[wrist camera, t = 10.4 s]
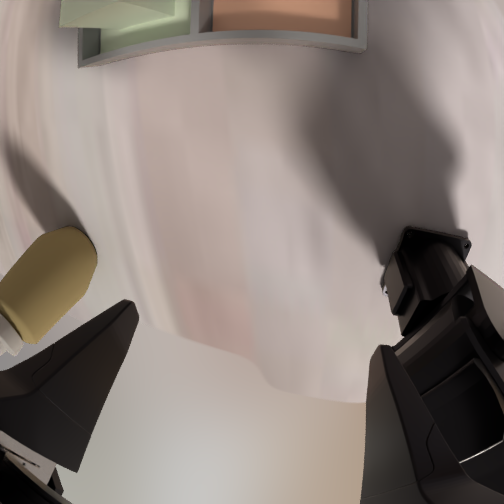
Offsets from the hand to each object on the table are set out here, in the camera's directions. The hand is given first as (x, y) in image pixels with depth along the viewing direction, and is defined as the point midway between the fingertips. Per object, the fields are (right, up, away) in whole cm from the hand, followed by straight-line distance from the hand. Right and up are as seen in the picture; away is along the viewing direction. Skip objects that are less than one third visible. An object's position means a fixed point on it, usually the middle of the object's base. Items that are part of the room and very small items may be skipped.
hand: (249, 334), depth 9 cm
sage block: (-7, +20, +2) cm, 21 cm away
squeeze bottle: (-19, +3, +18) cm, 26 cm away
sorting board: (-3, +20, +2) cm, 20 cm away
